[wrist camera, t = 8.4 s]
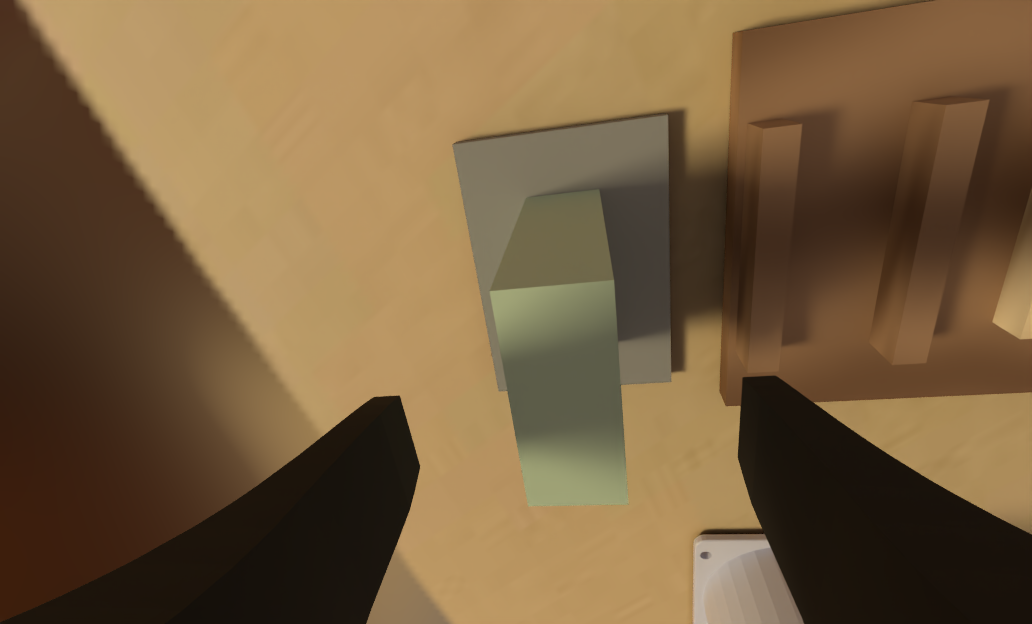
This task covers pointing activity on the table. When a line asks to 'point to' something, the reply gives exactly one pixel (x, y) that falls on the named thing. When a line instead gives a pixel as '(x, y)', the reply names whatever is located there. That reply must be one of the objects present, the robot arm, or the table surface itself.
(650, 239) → the mat
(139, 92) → the table surface
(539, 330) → the sage green box
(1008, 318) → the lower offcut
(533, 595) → the table surface
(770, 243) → the rack
